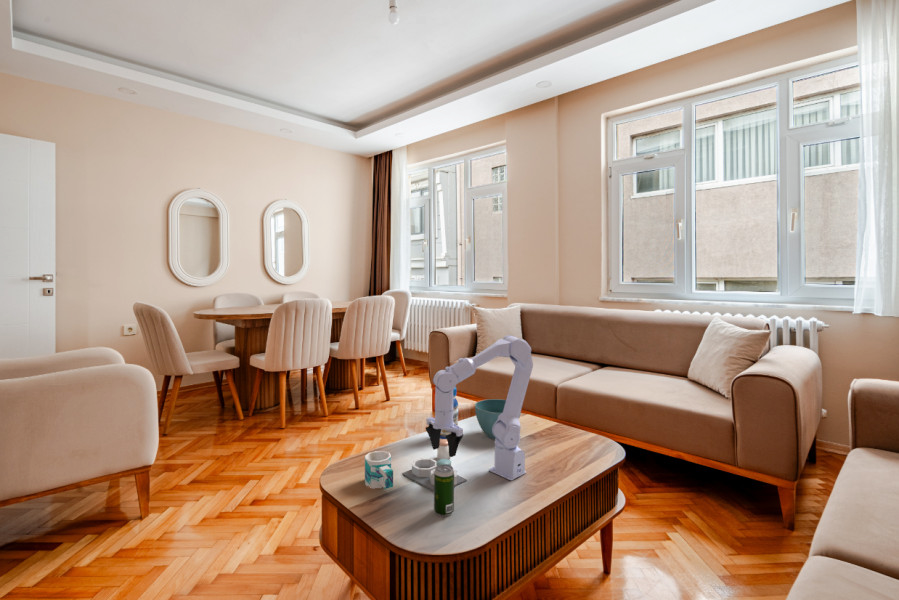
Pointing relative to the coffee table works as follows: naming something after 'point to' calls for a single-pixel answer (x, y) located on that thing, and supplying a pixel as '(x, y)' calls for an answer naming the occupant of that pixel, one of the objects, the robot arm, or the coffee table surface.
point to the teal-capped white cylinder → (443, 462)
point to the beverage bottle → (455, 415)
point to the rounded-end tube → (443, 450)
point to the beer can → (444, 490)
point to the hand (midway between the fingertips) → (444, 452)
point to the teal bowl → (489, 414)
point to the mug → (378, 470)
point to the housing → (428, 473)
